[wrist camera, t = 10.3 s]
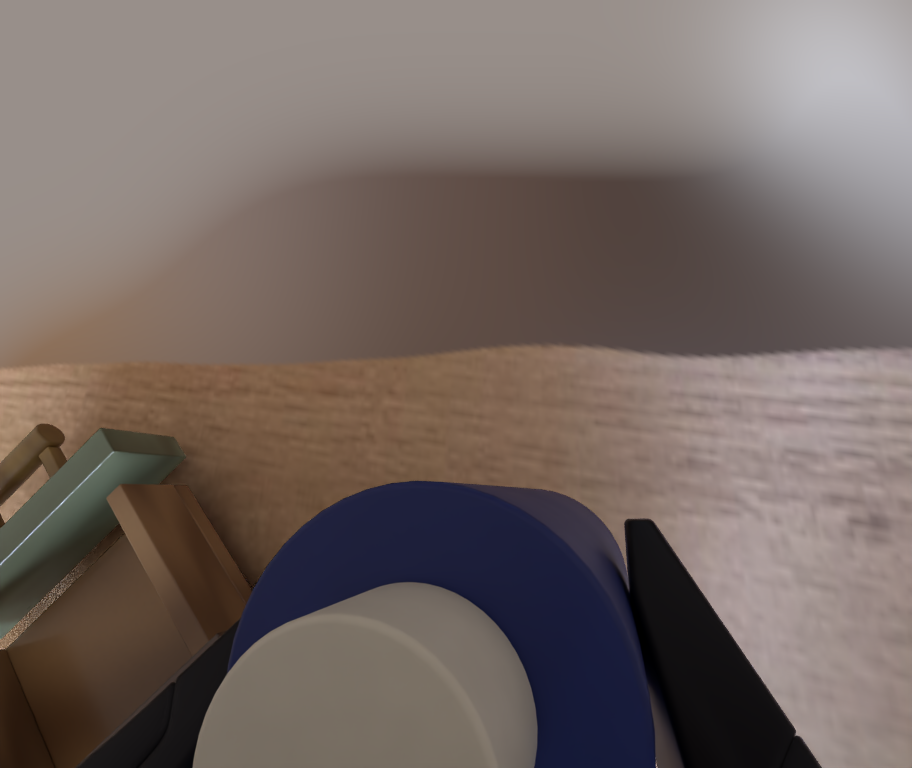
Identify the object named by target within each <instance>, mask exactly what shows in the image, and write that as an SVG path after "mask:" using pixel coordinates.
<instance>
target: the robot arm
mask: <svg viewBox="0 0 912 768" xmlns="http://www.w3.org/2000/svg"><path fill="white" fill-rule="evenodd" d="M624 525H625V541H626V556H627V569H628V580H629V591H630V598H631V604H632V609H633V614H634V618H635V622H636V626H637V630H638V634H639V640H640V645H641V651H642V656H643V662H644V667H645V673H646V678H647V683H648V689H649V694H650V701H651V708H652V715H653V721H654V728H655V757H656V762H657V767H658V768H822V767H821V766H820V764H819V763H818V761H817V760H816V758H815V757H814V755H813V754H812V752H811V751H810V749H809V748H808V747H807V745H806V744H805V742H804V741H803V739H802V738H801V737H800V736H795V734H796V730H795V728H794V727H793V725H792V724H791V722H790V721H789V719H788V718H787V716H786V715H785V713H784V712H783V710H782V709H781V707H780V706H779V705H778V703H777V702H776V700H775V699H774V697H773V696H772V694H771V693H770V691H769V690H768V688H767V687H766V685H765V684H764V682H763V681H762V680H761V678H760V677H759V675H758V674H757V672H756V671H755V669H754V668H753V666H752V665H751V663H750V662H749V660H748V659H747V658H746V656H745V655H744V653H743V652H742V650H741V649H740V647H739V646H738V644H737V643H736V641H735V640H734V638H733V637H732V636H731V634H730V633H729V631H728V630H727V628H726V627H725V625H724V624H723V622H722V621H721V619H720V618H719V616H718V615H717V614H716V612H715V611H714V609H713V608H712V606H711V605H710V603H709V602H708V600H707V599H706V597H705V596H704V594H703V593H702V591H701V590H700V589H699V587H698V586H697V584H696V583H695V581H694V580H693V578H692V577H691V575H690V574H689V572H688V571H687V569H686V568H685V567H684V565H683V564H682V562H681V561H680V559H679V558H678V556H677V555H676V553H675V552H674V550H673V549H672V547H671V546H670V545H669V543H668V542H667V540H666V539H665V537H664V536H663V534H662V533H661V531H660V530H659V528H658V527H657V525H656V524H655V523H654V522H653V521H652V520H651V519H627V520H626V521H625V524H624ZM240 619H241V618H240ZM240 619H239V620H237V621H236V622H235V623H234V624H233V625H232V626H231V627H230V628H229V629H228V630H227V631H226V632H225V633H224V634H223V635H221V636H220V637H219V638H218V639H217V640H216V641H215V642H214V643H213V644H212V645H211V646H210V647H209V648H208V649H207V650H205V651H204V652H203V653H202V654H201V655H200V656H199V657H198V658H197V659H196V660H195V661H194V662H193V663H192V664H191V665H189V666H188V667H187V668H186V669H185V670H184V671H183V672H182V673H181V674H180V675H179V676H178V677H177V678H176V682H171V683H170V684H169V685H168V686H167V687H166V688H165V689H164V690H163V691H162V692H160V693H159V694H158V695H157V696H156V697H155V698H154V699H153V700H152V701H151V702H150V703H149V704H148V705H146V706H145V707H144V708H143V709H142V710H141V711H140V712H139V713H138V714H136V715H135V716H134V717H133V718H132V719H131V720H130V721H129V722H128V723H127V724H125V725H124V726H123V727H122V728H121V729H120V730H119V731H118V732H116V733H115V734H114V735H113V736H112V737H111V738H109V739H108V740H107V741H106V742H105V743H104V744H102V745H101V746H100V747H99V748H98V749H97V750H95V751H94V752H93V753H92V754H91V755H90V756H88V757H87V758H86V759H85V760H84V761H82V762H81V763H80V764H79V765H78V766H76V767H75V768H193V761H194V754H195V750H196V745H197V741H198V736H199V733H200V730H201V727H202V724H203V721H204V718H205V715H206V712H207V710H208V708H209V706H210V704H211V701H212V699H213V697H214V695H215V693H216V691H217V690H218V688H219V686H220V685H221V683H222V682H223V680H224V678H225V677H226V675H227V670H228V663H229V658H230V654H231V649H232V645H233V640H234V636H235V633H236V631H237V628H238V625H239V622H240Z"/></svg>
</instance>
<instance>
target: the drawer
mask: <svg viewBox="0 0 912 768" xmlns="http://www.w3.org/2000/svg"><path fill="white" fill-rule="evenodd" d="M64 441H65V436H64V434H63V433H62V431H61V430H59V429H58V428H57V427H55V426H53V425H50V424H39V425H37V426H36V427H35V428H34V429H33V430H32V431H31V432H30V433H29V434H28V435H27V436H26V437H25V438H24V439H23V440H22V441H21V442H20V443H19V444H18V445H17V446H16V447H15V448H14V449H13V450H12V451H11V452H10V454H9V455H8V456H7V457H6V458H5V459H4V460H3V461H2V462H1V463H0V506H1V505H2V504H3V503H4V502H5V501H6V500H7V499H8V498H9V497H10V496H11V495H12V494H13V493H14V492H15V491H16V490H17V489H18V488H19V487H20V486H21V485H22V484H23V483H24V482H25V481H26V480H27V479H28V478H29V477H30V476H31V475H32V474H33V473H34V472H35V471H36V470H37V469H38V468H39V467H40V466H41V465H42V464H43V465H44V467H45V469H46V471H47V473H48V475H49V477H50V479H49V480H48V481H47V482H46V483H45V484H44V485H43V486H42V487H41V488H40V489H39V490H38V491H37V492H36V493H35V494H34V495H33V496H32V497H31V498H30V499H29V500H28V501H27V502H26V503H25V504H24V505H23V506H22V507H21V508H20V509H19V510H18V511H17V512H16V513H15V514H14V515H13V516H12V517H11V518H10V519H9V520H8V521H7V522H6V523H4V521H3V519H2V516H1V514H0V639H2V638H3V637H4V636H5V635H6V634H7V633H8V632H9V631H10V630H11V629H12V628H13V627H14V626H15V625H16V624H17V623H18V622H19V621H20V620H21V619H22V618H23V617H24V616H25V615H26V614H27V613H28V612H29V611H30V610H31V609H32V608H33V607H34V606H35V605H36V604H37V603H38V602H40V601H41V600H42V599H43V598H44V597H45V596H46V595H47V594H48V593H49V592H50V591H51V590H52V589H53V588H54V587H55V586H56V585H57V584H58V583H59V582H60V581H61V580H62V579H63V578H64V577H65V576H66V575H67V574H68V573H69V572H70V571H71V570H72V569H73V568H74V567H75V566H76V565H77V564H78V563H79V562H80V561H81V560H82V559H83V558H84V557H85V556H86V555H87V554H88V553H89V552H90V551H91V550H92V549H93V548H94V547H95V546H96V545H97V544H99V543H100V542H101V541H102V540H103V539H104V538H105V537H106V536H107V535H108V534H109V533H110V532H111V531H112V530H113V529H114V528H115V527H116V526H117V525H118V524H119V523H120V525H121V527H122V529H123V530H124V532H125V533H124V534H123V535H122V536H121V537H120V538H119V539H118V540H117V541H116V542H115V543H114V544H113V545H112V546H111V547H110V548H109V549H108V550H107V551H106V552H105V553H104V554H103V555H102V556H101V557H100V558H99V559H98V560H97V561H96V562H95V563H94V564H93V565H92V566H91V567H89V568H88V569H87V570H86V571H85V572H84V573H83V574H82V575H81V576H80V577H79V578H78V579H77V580H76V581H75V582H74V583H73V584H72V585H71V586H70V587H69V588H68V589H67V590H66V591H65V592H64V593H63V594H62V595H61V596H60V597H59V598H58V599H57V600H56V601H55V602H54V603H53V604H52V605H51V606H50V607H49V608H48V609H47V610H46V611H45V612H44V613H43V614H42V615H41V616H39V617H38V618H37V619H36V620H35V621H34V622H33V623H32V624H31V625H30V626H29V627H28V628H27V629H26V630H25V631H24V632H23V633H22V634H21V635H20V636H19V637H18V638H17V639H16V640H15V641H14V642H13V643H12V644H11V645H10V646H9V647H8V648H7V649H3V650H0V768H75V767H76V766H77V765H78V764H79V763H80V762H81V761H82V760H83V759H84V758H85V757H86V756H87V755H88V754H89V753H91V752H92V751H93V750H94V749H95V748H96V747H97V746H98V745H99V744H100V743H101V742H102V741H103V740H104V739H105V738H106V737H108V736H109V735H110V734H111V733H112V732H113V731H114V730H115V729H116V728H117V727H118V726H119V725H120V724H121V723H122V722H123V721H125V720H126V719H127V718H128V717H129V716H130V715H131V714H132V713H133V712H134V711H135V710H136V709H137V708H138V707H139V706H140V705H141V704H143V703H144V702H145V701H146V700H147V699H148V698H149V697H150V696H151V695H152V694H153V693H154V692H155V691H156V690H157V689H158V688H160V687H161V686H162V685H163V684H164V683H165V682H166V681H167V680H168V679H169V678H170V677H171V676H172V675H173V674H174V673H175V672H176V671H178V670H179V669H180V668H181V667H182V666H183V665H184V664H185V663H186V662H187V661H188V660H189V659H190V658H191V657H192V656H193V655H195V654H196V653H197V652H198V651H199V650H200V649H201V648H202V647H203V646H204V645H205V644H206V643H207V642H208V641H209V640H210V639H212V638H213V637H214V636H215V635H216V634H217V633H220V632H222V631H225V630H228V629H229V628H230V627H231V626H232V625H233V624H234V623H235V622H236V621H237V620H239V619H240V618H241V616H242V613H243V610H244V608H245V606H246V604H247V602H248V599H249V597H250V595H251V593H252V590H251V588H250V586H249V585H248V583H247V582H246V580H245V578H244V577H243V575H242V573H241V572H240V570H239V568H238V567H237V565H236V564H235V562H234V560H233V559H232V557H231V555H230V554H229V552H228V551H227V549H226V547H225V546H224V544H223V542H222V541H221V539H220V538H219V536H218V534H217V533H216V531H215V529H214V528H213V526H212V525H211V523H210V521H209V520H208V518H207V516H206V515H205V513H204V512H203V510H202V508H201V507H200V505H199V503H198V502H197V500H196V499H195V497H194V495H193V494H192V492H191V490H190V489H189V487H188V486H187V485H174V486H173V485H159V484H160V483H161V482H162V481H163V480H164V479H165V478H166V477H167V476H168V475H169V474H170V473H171V472H172V471H173V470H174V469H175V468H176V467H177V466H178V465H179V464H180V463H181V462H182V461H183V460H184V459H185V458H186V455H185V454H184V452H183V450H182V449H181V447H180V446H179V444H178V442H177V441H176V439H175V438H174V437H170V436H162V435H154V434H146V433H138V432H130V431H122V430H114V429H106V428H100V429H99V430H98V431H97V432H96V433H95V434H94V435H93V436H92V437H91V438H90V439H89V440H88V441H87V442H86V443H85V444H84V445H83V446H82V447H81V448H80V449H79V450H78V451H77V452H76V453H75V454H74V455H73V456H72V457H71V458H70V459H69V460H68V461H67V460H66V458H65V456H64V454H63V452H62V450H61V448H59V447H60V446H61V445H62V444H63V443H64Z"/></svg>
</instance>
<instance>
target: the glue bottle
mask: <svg viewBox="0 0 912 768" xmlns="http://www.w3.org/2000/svg"><path fill="white" fill-rule="evenodd" d="M193 768H656V758H655V728H654V721H653V715H652V708H651V701H650V694H649V689H648V683H647V678H646V673H645V667H644V662H643V656H642V651H641V645H640V640H639V634H638V630H637V626H636V622H635V618H634V614H633V609H632V604H631V598H630V591H629V580H628V575H627V569H626V566H625V562H624V558H623V556H622V553H621V551H620V548H619V546H618V544H617V542H616V540H615V539H614V537H613V535H612V533H611V532H610V531H609V529H608V528H607V527H606V525H605V524H604V523H603V522H602V521H601V520H600V519H599V518H598V517H597V516H596V515H595V514H594V513H593V512H592V511H591V510H589V509H588V508H587V507H586V506H584V505H582V504H581V503H579V502H578V501H576V500H574V499H572V498H570V497H568V496H566V495H563V494H560V493H557V492H553V491H548V490H542V489H530V488H516V487H503V486H490V485H476V484H463V483H450V482H432V481H409V482H399V483H390V484H386V485H382V486H378V487H374V488H370V489H366V490H364V491H361V492H359V493H356V494H354V495H351V496H349V497H346V498H344V499H342V500H340V501H339V502H337V503H335V504H333V505H332V506H330V507H328V508H326V509H325V510H323V511H321V512H320V513H319V514H318V515H316V516H315V517H314V518H312V519H311V520H310V521H308V522H307V523H306V524H304V525H303V526H302V527H301V528H300V529H299V530H298V531H297V532H296V533H295V534H294V535H293V536H292V537H291V538H290V539H289V540H288V541H287V542H286V543H285V544H284V545H283V546H282V548H281V549H280V550H279V552H278V553H277V554H276V555H275V557H274V558H273V559H272V560H271V562H270V563H269V564H268V566H267V567H266V569H265V570H264V572H263V574H262V575H261V577H260V579H259V580H258V582H257V584H256V585H255V587H254V589H253V591H252V593H251V595H250V597H249V599H248V602H247V604H246V606H245V608H244V610H243V613H242V616H241V619H240V622H239V625H238V628H237V631H236V633H235V636H234V640H233V645H232V649H231V654H230V658H229V663H228V670H227V675H226V677H225V678H224V680H223V682H222V683H221V685H220V686H219V688H218V690H217V691H216V693H215V695H214V697H213V699H212V701H211V704H210V706H209V708H208V710H207V712H206V715H205V718H204V721H203V724H202V727H201V730H200V733H199V736H198V741H197V745H196V750H195V754H194V761H193Z"/></svg>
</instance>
